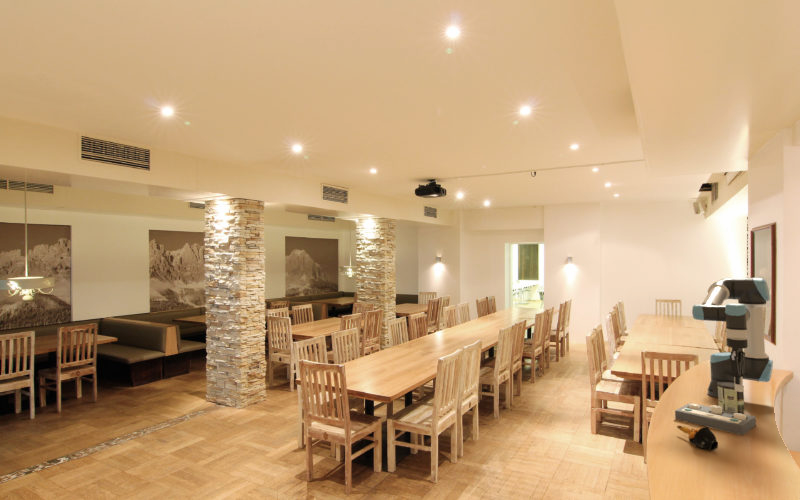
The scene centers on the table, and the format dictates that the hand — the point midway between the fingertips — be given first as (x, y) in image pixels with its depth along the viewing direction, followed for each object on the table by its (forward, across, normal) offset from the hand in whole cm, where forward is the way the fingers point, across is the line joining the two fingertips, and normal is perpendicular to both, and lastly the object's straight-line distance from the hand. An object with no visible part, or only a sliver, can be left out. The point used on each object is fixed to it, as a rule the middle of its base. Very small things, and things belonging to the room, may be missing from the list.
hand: (738, 391), depth 199 cm
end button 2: (+15, 0, 0) cm, 15 cm away
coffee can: (+16, -16, -8) cm, 24 cm away
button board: (+16, +3, -9) cm, 18 cm away
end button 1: (+15, 0, -18) cm, 24 cm away
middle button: (+14, 0, -9) cm, 17 cm away
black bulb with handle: (+16, +36, -5) cm, 39 cm away
